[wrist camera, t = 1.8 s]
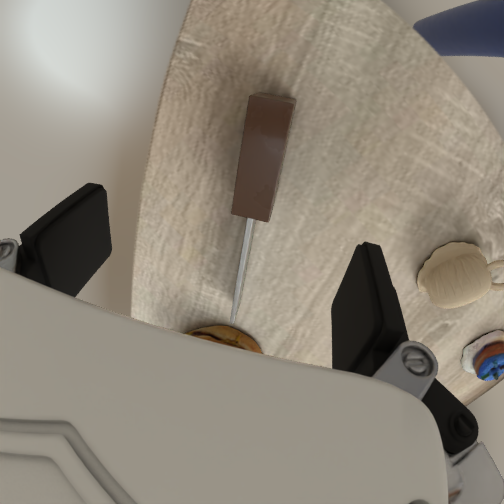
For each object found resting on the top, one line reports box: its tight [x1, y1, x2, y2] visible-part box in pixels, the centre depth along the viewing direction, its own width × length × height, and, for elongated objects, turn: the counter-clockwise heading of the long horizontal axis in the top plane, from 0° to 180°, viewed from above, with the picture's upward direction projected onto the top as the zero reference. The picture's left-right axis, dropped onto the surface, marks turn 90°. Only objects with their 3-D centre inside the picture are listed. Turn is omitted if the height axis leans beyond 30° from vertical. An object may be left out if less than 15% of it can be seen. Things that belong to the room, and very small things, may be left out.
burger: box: [185, 326, 262, 354], centre depth 32 cm, size 10×9×5 cm
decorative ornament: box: [417, 242, 504, 309], centre depth 20 cm, size 4×8×5 cm, turn 119°
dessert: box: [461, 330, 504, 381], centre depth 27 cm, size 8×7×6 cm
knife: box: [230, 92, 296, 324], centre depth 22 cm, size 19×3×3 cm, turn 171°
